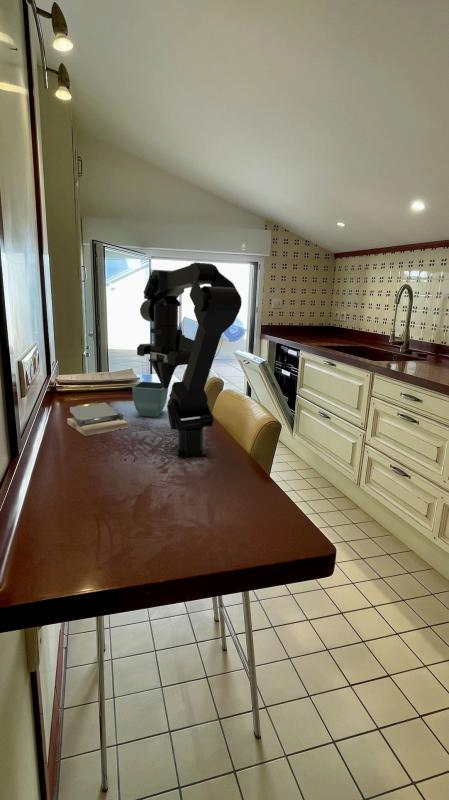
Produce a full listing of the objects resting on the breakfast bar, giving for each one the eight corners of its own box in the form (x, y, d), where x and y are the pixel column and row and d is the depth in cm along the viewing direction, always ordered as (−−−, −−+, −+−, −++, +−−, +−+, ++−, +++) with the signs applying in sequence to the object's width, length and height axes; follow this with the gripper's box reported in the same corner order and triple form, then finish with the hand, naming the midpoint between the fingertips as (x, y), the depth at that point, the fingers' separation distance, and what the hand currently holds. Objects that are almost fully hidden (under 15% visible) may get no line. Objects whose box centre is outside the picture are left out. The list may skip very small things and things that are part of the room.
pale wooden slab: (128, 428, 113) (128, 417, 113) (85, 436, 106) (84, 424, 105) (108, 417, 122) (108, 407, 121) (67, 423, 115) (66, 413, 114)
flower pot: (169, 411, 130) (169, 382, 128) (162, 419, 122) (162, 389, 120) (140, 409, 131) (140, 381, 129) (131, 417, 123) (131, 387, 120)
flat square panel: (119, 415, 114) (104, 400, 121) (83, 420, 108) (68, 405, 115) (119, 420, 115) (103, 405, 122) (82, 426, 109) (68, 410, 115)
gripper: (216, 327, 102) (214, 391, 105) (172, 321, 115) (172, 378, 119) (176, 328, 95) (176, 397, 98) (135, 322, 108) (136, 382, 112)
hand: (165, 387), depth 107 cm, fingers closed
